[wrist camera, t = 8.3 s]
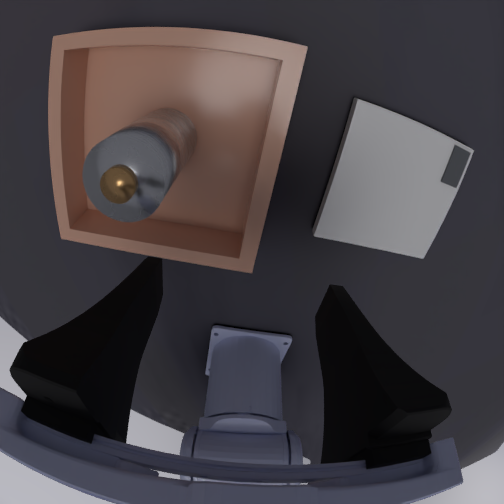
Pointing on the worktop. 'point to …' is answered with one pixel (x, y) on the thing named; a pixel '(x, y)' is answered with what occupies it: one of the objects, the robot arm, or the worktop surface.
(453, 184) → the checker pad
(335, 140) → the worktop surface
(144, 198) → the cell
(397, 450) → the robot arm
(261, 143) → the bin
